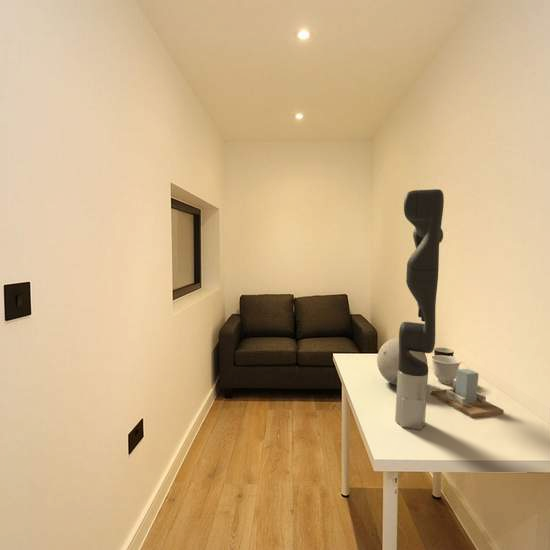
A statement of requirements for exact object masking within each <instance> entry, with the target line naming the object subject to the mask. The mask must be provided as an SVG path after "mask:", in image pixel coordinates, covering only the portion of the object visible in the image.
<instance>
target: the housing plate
mask: <svg viewBox="0 0 550 550" xmlns="http://www.w3.org/2000/svg"><path fill="white" fill-rule="evenodd" d="M452 384H453V386H452V388H449V389H448V388H446V389H436V390H435V389H434V390H430V395H431V394H432V395H431V396H432V397H434V396H435V397H434V398H436V397H437V398H436V399H438V400H439V401H441V400H442V401H441V402H442V403H445V404H446V405H448V406H450V407H452V408H453V409H455V410H457V411H459V412H460V413H462V414H463V415H466V416H467V417H468V418H470V419H475V418H481V417H482V418H483V417H490V416H499V415H504V412H505V411H504V409H503V408H501V407H499V406H497V405H495V404H493V403H491V402H489V401H487V399H486V398H487V396H485V395H484V394H481V393H480V392H478V391H477V400H476V402H473V403H465V398H463V397H461V396H459V395H458V394H456V393H455V390H456V380H453V382H452Z"/></svg>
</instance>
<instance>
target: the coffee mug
mask: <svg viewBox="0 0 550 550" xmlns="http://www.w3.org/2000/svg"><path fill="white" fill-rule="evenodd" d="M433 353H434V355H433V356H435V355H444V356H452V357H454V353H455V351H454V350H453V349H451V348H447V347H434V350H433Z"/></svg>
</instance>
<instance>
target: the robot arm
mask: <svg viewBox="0 0 550 550" xmlns="http://www.w3.org/2000/svg"><path fill="white" fill-rule="evenodd" d="M444 201H445V199H444V193H443V190H442V189H437V188H436V189H435V188H434V189H413V190H410V191H407V193H406V194H405V196H404V201H403V213H404V217H405V218H406V220H407V221H408V222H409V224H411V225H413V227H415V229H414V230H413V232H412V233H413V234H412V237H413V242H414V245H415V250H414V251H413V252H412V253H411V255H410V257H409V259H408V260H407V263H406V276H405V277H406V279H405V280H406V281H405V282H406V286H407V288H408V290H409V292H410V293H411V295H412V297H413V298H414V299H415V300H414V301H416V302H417V304H416V305H417V308H418V311H417V317H418V318H421V319H420V320H421V323H420V322H411V321H403V322H401V324H400V326H399V330H398V338H399V362H398V378H397V385H396V394H395V395H396V398H395V400H396V401H395V415H394V416H395V418H394V420H395V422H396V423H397V424H398V425H400V426H401V428H408V429H414V430H421V431H422V430H423V428H424V427H425V425H426V411H427V410H426V409H427V398H428V395H427V394H428V384H429V383H428V381H429V380H428V378H429V365H428V363H427V364H426V363H425V362H423V361H421V360H419V359H417V358H416V357H414V356H413V355H412V354H411V353H410V351H415V352H422V353H425V354H430V353H432V352H434V348H435V347H436V346H435V345H436V307H437V306H436V304H437V291H438V282H439V265H440V264H439V262H440V261H439V259H440V258H439V257H440V243H442V242H443V239H444V231H443V229H442V224H443V223H442V221H443V215H444V214H443V213H444V206H445V205H444V203H445V202H444ZM423 322H424V323H423Z"/></svg>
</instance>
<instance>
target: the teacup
mask: <svg viewBox="0 0 550 550" xmlns="http://www.w3.org/2000/svg"><path fill="white" fill-rule="evenodd" d="M430 358H431V360H432V367H433V368H432V369H433V374H434V376H435V377H436V378H437V382H439V383H442V384H444V385H445V384H447V385H450V383H451V384H453V382H452V381H455V380H456V376H457V369H459V368H460V365H461V363H462V361H461V360H460V359H459V358H457V357H454V356H453V357H452V356H444V355H432V356H431V357H430Z"/></svg>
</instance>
